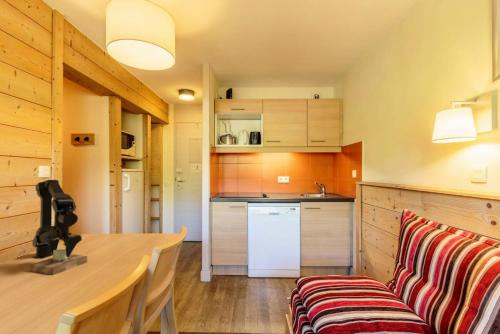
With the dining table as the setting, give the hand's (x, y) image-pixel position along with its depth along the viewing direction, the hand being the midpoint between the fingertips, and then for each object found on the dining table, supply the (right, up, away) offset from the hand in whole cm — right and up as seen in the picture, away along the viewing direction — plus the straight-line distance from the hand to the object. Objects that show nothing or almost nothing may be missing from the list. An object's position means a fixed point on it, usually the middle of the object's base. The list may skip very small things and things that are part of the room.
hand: (60, 255), depth 114 cm
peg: (0, -5, 0) cm, 5 cm away
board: (0, -5, 0) cm, 5 cm away
